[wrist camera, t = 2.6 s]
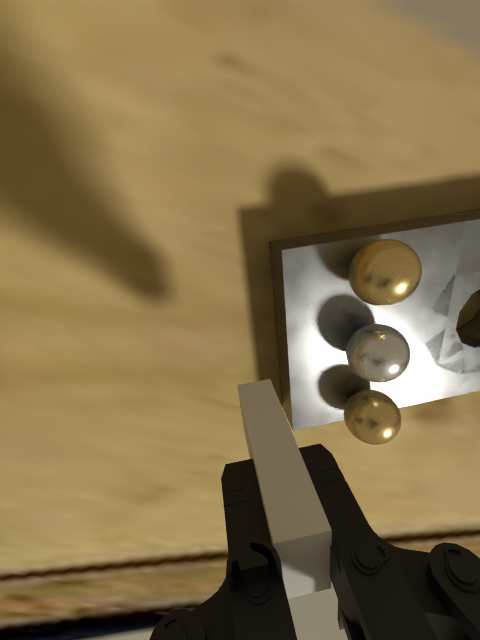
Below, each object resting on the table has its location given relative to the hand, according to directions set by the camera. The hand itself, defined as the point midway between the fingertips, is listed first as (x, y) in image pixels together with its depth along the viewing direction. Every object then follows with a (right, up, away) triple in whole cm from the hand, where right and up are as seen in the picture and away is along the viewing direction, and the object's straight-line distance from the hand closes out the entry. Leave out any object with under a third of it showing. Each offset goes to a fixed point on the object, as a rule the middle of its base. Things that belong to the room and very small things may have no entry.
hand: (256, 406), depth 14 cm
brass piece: (+7, -2, +4) cm, 9 cm away
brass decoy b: (+6, +6, +1) cm, 9 cm away
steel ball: (+7, +2, +3) cm, 7 cm away
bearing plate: (+10, +5, +7) cm, 13 cm away
